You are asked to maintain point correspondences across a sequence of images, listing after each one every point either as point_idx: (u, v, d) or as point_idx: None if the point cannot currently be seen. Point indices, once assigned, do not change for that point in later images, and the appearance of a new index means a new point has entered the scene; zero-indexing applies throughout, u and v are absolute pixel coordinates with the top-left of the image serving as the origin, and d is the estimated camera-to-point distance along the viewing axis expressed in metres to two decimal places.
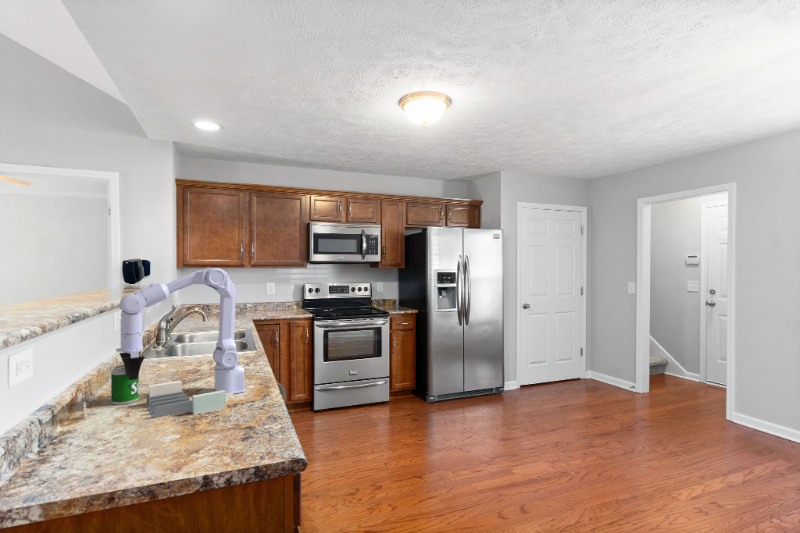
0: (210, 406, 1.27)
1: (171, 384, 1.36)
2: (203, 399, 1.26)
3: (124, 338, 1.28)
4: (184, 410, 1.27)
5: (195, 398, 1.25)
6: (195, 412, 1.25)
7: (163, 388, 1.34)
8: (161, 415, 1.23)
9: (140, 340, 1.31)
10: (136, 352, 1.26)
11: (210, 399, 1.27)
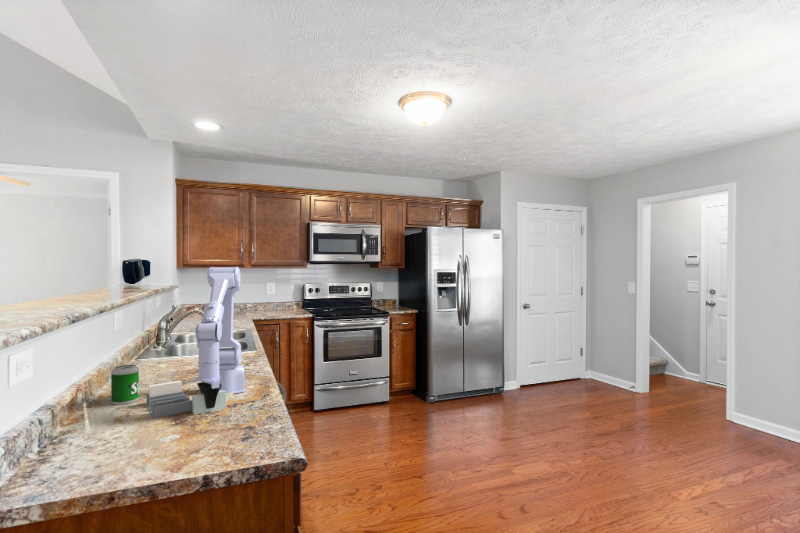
0: None
1: (171, 384, 1.36)
2: (203, 399, 1.26)
3: (203, 367, 1.25)
4: (184, 410, 1.27)
5: (195, 398, 1.25)
6: (195, 412, 1.25)
7: (163, 388, 1.34)
8: (161, 415, 1.23)
9: (218, 369, 1.28)
10: (217, 382, 1.23)
11: None
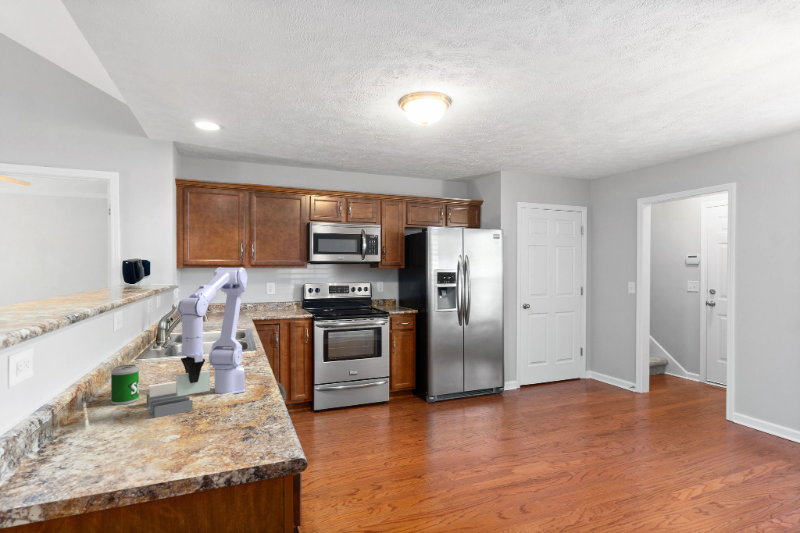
0: (194, 385, 1.28)
1: (171, 384, 1.36)
2: (187, 378, 1.27)
3: (186, 342, 1.26)
4: (184, 410, 1.27)
5: (179, 377, 1.25)
6: (179, 391, 1.26)
7: (163, 388, 1.34)
8: (161, 415, 1.23)
9: (201, 344, 1.29)
10: (200, 356, 1.23)
11: None
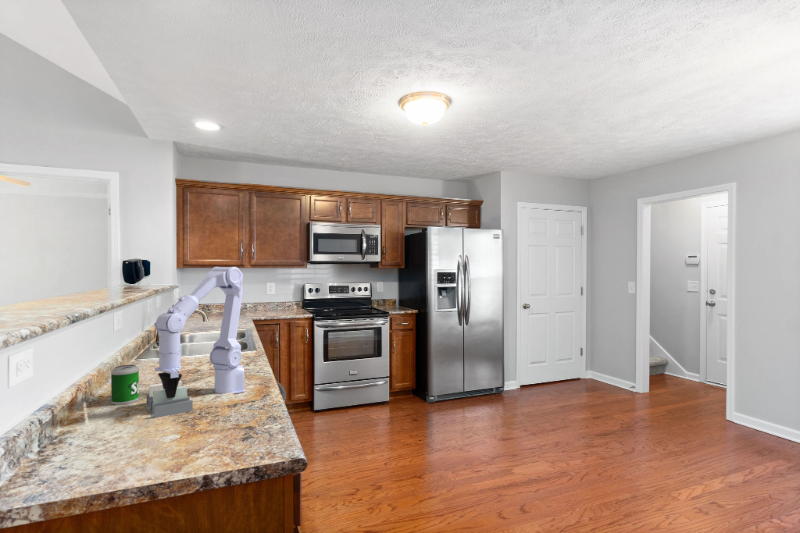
0: None
1: None
2: (163, 394, 1.28)
3: (163, 357, 1.27)
4: (184, 410, 1.27)
5: (155, 393, 1.26)
6: None
7: None
8: (161, 415, 1.23)
9: (178, 359, 1.29)
10: (176, 372, 1.24)
11: None
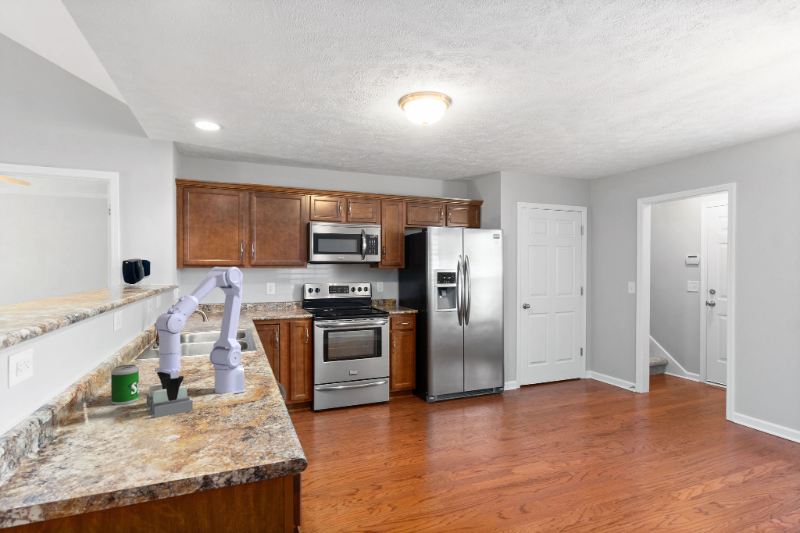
0: None
1: None
2: (163, 394, 1.28)
3: (163, 358, 1.27)
4: (184, 410, 1.27)
5: (155, 393, 1.26)
6: None
7: None
8: (161, 415, 1.23)
9: (178, 359, 1.29)
10: (176, 372, 1.24)
11: None
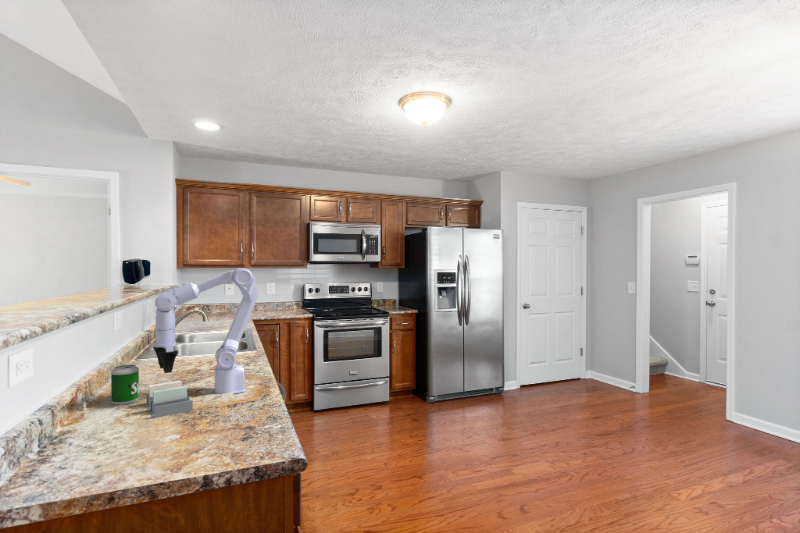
0: None
1: (171, 384, 1.36)
2: (163, 394, 1.28)
3: (159, 334, 1.38)
4: (184, 410, 1.27)
5: (155, 393, 1.26)
6: None
7: (163, 388, 1.34)
8: (161, 415, 1.23)
9: (173, 335, 1.40)
10: (171, 346, 1.35)
11: (171, 394, 1.29)
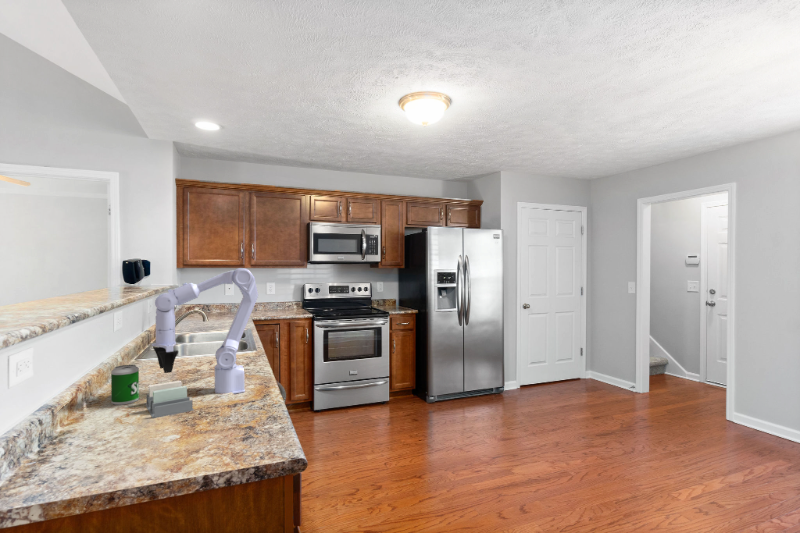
0: None
1: (171, 384, 1.36)
2: (163, 394, 1.28)
3: (159, 334, 1.38)
4: (184, 410, 1.27)
5: (155, 393, 1.26)
6: None
7: (163, 388, 1.34)
8: (161, 415, 1.23)
9: (173, 335, 1.40)
10: (171, 346, 1.35)
11: (171, 394, 1.29)
